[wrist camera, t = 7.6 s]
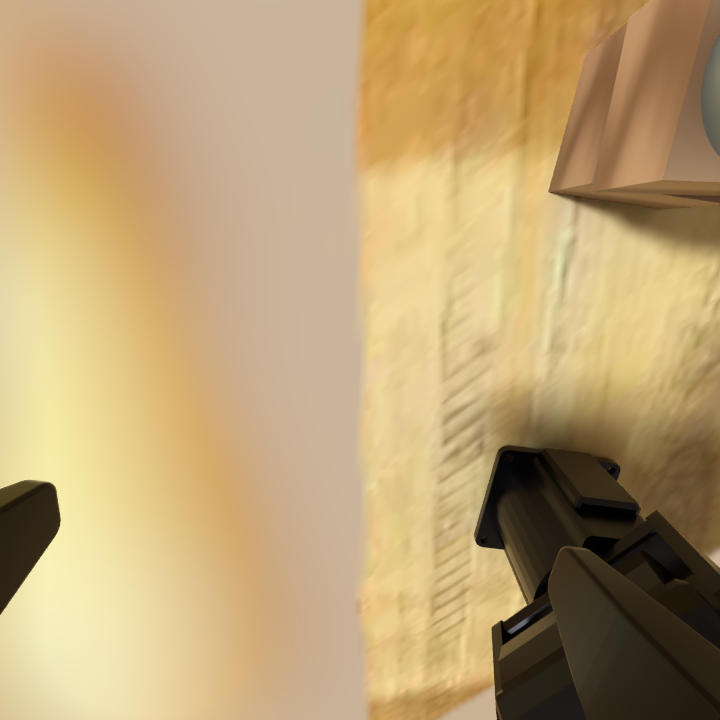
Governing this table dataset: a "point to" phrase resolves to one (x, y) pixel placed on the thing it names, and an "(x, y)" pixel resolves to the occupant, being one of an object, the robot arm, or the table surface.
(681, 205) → the lower block
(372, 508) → the table surface
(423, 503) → the table surface
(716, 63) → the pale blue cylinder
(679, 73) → the upper block
